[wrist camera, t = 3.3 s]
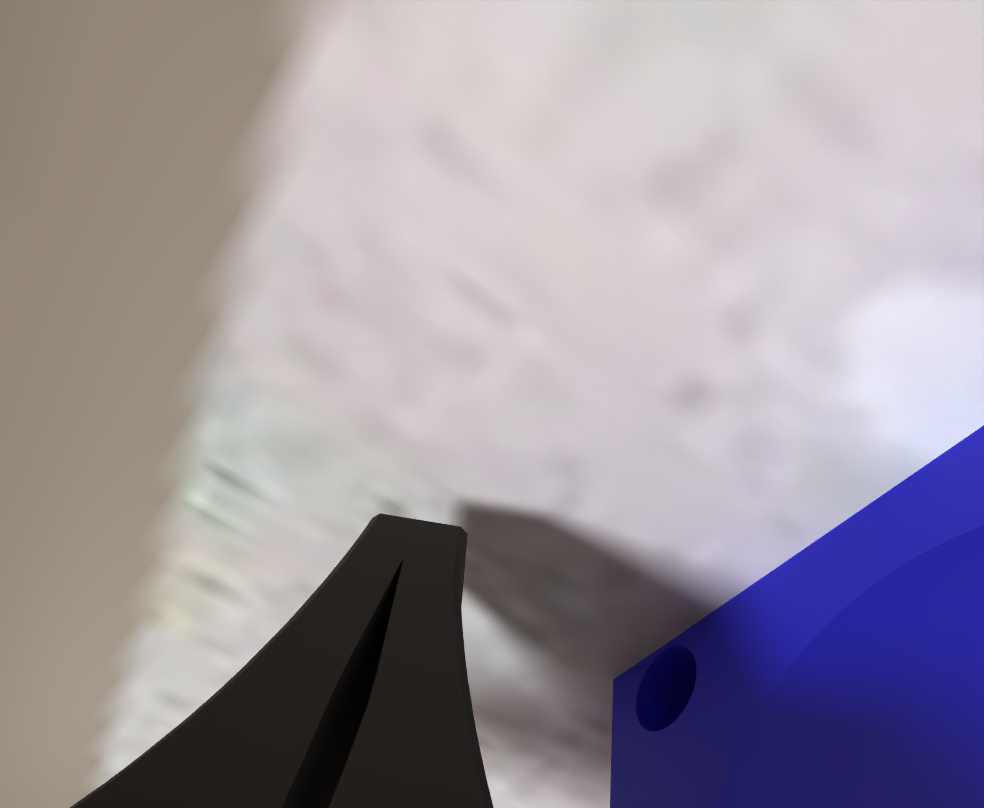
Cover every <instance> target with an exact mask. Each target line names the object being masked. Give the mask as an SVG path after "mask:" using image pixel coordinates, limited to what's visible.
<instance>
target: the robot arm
mask: <svg viewBox="0 0 984 808" xmlns="http://www.w3.org/2000/svg"><path fill="white" fill-rule="evenodd" d="M466 546H467V533H466V532H465V531H464V530H463V529H462V528H461V527H459V526H453V525H447V524H441V523H435V522H429V521H422V520H416V519H410V518H404V517H398V516H392V515H386V514H378V515H377V516H375V517H373V518H372V519H371V521H370V522H369V524H368V525H367V527H366V528H365V530H364V531H363V532H362V534H361V535H360V536H359V538H358V539H357V540H356V542H355V543H354V544H353V546H352V547H351V548H350V550H349V551H348V552H347V554H346V555H345V556H344V557H343V559H342V560H341V561H340V562H339V564H338V565H337V566H336V567H335V568H334V570H333V571H332V572H331V573H330V574H329V576H328V577H327V578H326V579H325V581H324V582H323V583H322V584H321V585H320V586H319V587H318V589H317V590H316V591H315V592H314V593H313V594H312V595H311V596H310V598H309V599H308V600H307V601H306V602H305V603H304V604H303V606H302V607H301V608H300V609H299V610H298V611H297V612H296V613H295V615H294V616H293V617H292V618H291V619H290V620H289V621H288V622H287V623H286V624H285V625H284V627H283V628H282V629H281V630H280V631H279V632H278V633H277V634H276V635H275V636H274V637H273V638H272V639H271V640H270V641H269V642H268V643H267V644H266V645H265V646H264V647H263V648H262V649H261V650H260V651H259V652H258V653H257V654H256V655H255V656H254V657H253V658H252V659H251V660H250V661H249V662H248V663H247V664H246V665H245V666H244V667H243V668H242V669H241V670H240V671H239V672H238V673H237V674H236V675H235V676H234V677H232V678H231V679H230V680H229V681H228V682H227V683H226V684H225V685H224V686H223V687H222V688H221V689H220V690H218V691H217V692H216V693H215V694H214V695H213V696H212V697H211V698H210V699H208V700H207V701H206V702H205V703H204V704H203V705H202V706H200V707H199V708H198V709H197V710H196V711H195V712H194V713H192V714H191V715H190V716H189V717H188V718H187V719H185V720H184V721H183V722H182V723H181V724H179V725H178V726H177V727H176V728H175V729H173V730H172V731H171V732H170V733H168V734H167V735H166V736H165V737H163V738H162V739H161V740H160V741H158V742H157V743H156V744H155V745H154V746H152V747H151V748H150V749H149V750H147V751H146V752H145V753H144V754H142V755H141V756H140V757H139V758H137V759H136V760H135V761H133V762H132V763H131V764H130V765H128V766H127V767H126V768H124V769H123V770H122V771H120V772H119V773H118V774H116V775H115V776H114V777H112V778H111V779H110V780H108V781H107V782H106V783H104V784H103V785H101V786H100V787H98V788H97V789H96V790H94V791H93V792H91V793H90V794H88V795H87V796H86V797H84V798H83V799H82V800H80V801H79V802H77V803H76V804H74V805H73V806H71V807H70V808H493V804H492V800H491V796H490V792H489V788H488V784H487V780H486V775H485V770H484V766H483V761H482V757H481V752H480V747H479V742H478V737H477V732H476V727H475V721H474V716H473V710H472V703H471V697H470V691H469V684H468V677H467V669H466V661H465V651H464V640H463V628H462V614H461V604H462V593H463V581H464V569H465V558H466Z"/></svg>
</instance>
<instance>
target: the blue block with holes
mask: <svg viewBox="0 0 984 808" xmlns="http://www.w3.org/2000/svg"><path fill="white" fill-rule="evenodd" d="M610 808H984V426H982V427H981V428H979V429H978V430H977V431H975V432H974V433H972V434H971V435H969V436H968V437H966V438H965V439H963V440H962V441H961V442H959V443H958V444H956V445H955V446H953V447H952V448H950V449H949V450H947V451H946V452H945V453H943V454H942V455H940V456H939V457H937V458H936V459H934V460H933V461H931V462H930V463H929V464H927V465H926V466H924V467H923V468H921V469H920V470H918V471H917V472H915V473H914V474H913V475H911V476H910V477H908V478H907V479H905V480H904V481H902V482H901V483H899V484H898V485H897V486H895V487H894V488H892V489H891V490H889V491H888V492H886V493H885V494H883V495H882V496H881V497H879V498H878V499H876V500H875V501H873V502H872V503H870V504H869V505H868V506H866V507H865V508H863V509H862V510H860V511H859V512H857V513H856V514H854V515H853V516H852V517H850V518H849V519H847V520H846V521H844V522H843V523H841V524H840V525H838V526H837V527H836V528H834V529H833V530H831V531H830V532H828V533H827V534H825V535H824V536H822V537H821V538H820V539H818V540H817V541H815V542H814V543H812V544H811V545H809V546H808V547H806V548H805V549H804V550H802V551H801V552H799V553H798V554H796V555H795V556H793V557H792V558H790V559H789V560H788V561H786V562H785V563H783V564H782V565H780V566H779V567H777V568H776V569H774V570H773V571H772V572H770V573H769V574H767V575H766V576H764V577H763V578H761V579H760V580H758V581H757V582H756V583H754V584H753V585H751V586H750V587H748V588H747V589H745V590H744V591H742V592H741V593H740V594H738V595H737V596H735V597H734V598H732V599H731V600H729V601H728V602H726V603H725V604H724V605H722V606H721V607H719V608H718V609H716V610H715V611H713V612H712V613H710V614H709V615H708V616H706V617H705V618H703V619H702V620H700V621H699V622H697V623H696V624H694V625H693V626H692V627H690V628H689V629H687V630H686V631H684V632H683V633H681V634H680V635H678V636H677V637H676V638H674V639H673V640H671V641H670V642H668V643H667V644H665V645H664V646H662V647H661V648H660V649H658V650H657V651H655V652H654V653H652V654H651V655H649V656H648V657H646V658H645V659H644V660H642V661H641V662H639V663H638V664H636V665H635V666H633V667H632V668H630V669H629V670H628V671H626V672H625V673H623V674H622V675H620V676H619V677H617V678H616V679H614V681H613V719H612V756H611V794H610Z"/></svg>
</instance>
